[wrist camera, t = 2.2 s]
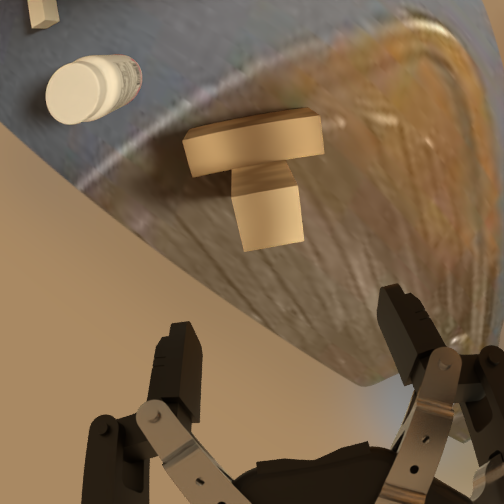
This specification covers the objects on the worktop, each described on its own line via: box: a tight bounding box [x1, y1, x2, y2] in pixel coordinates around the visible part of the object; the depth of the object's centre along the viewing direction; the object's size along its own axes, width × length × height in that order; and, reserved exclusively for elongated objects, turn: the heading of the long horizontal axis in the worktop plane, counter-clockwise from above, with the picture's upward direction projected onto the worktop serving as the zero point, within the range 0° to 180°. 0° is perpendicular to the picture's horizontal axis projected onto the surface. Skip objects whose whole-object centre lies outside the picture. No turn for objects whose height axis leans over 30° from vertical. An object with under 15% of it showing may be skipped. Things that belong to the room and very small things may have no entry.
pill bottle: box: [46, 54, 142, 125], centre depth 18 cm, size 5×5×8 cm
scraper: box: [182, 107, 324, 252], centre depth 22 cm, size 10×7×9 cm
